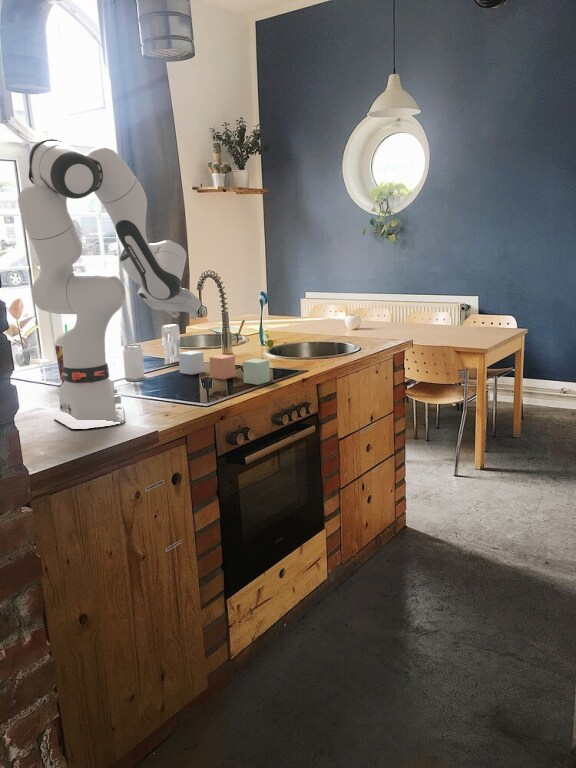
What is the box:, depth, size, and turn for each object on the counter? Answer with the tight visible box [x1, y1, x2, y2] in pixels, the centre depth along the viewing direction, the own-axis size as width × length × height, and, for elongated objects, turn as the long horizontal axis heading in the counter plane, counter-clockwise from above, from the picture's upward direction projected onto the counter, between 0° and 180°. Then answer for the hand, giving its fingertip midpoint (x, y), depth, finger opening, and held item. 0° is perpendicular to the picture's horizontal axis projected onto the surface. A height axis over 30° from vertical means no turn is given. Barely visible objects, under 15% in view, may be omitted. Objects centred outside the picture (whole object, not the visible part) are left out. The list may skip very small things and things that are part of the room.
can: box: [122, 344, 145, 383], centre depth 227 cm, size 6×6×12 cm
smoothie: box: [54, 323, 68, 384], centre depth 224 cm, size 8×8×20 cm
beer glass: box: [161, 323, 181, 365], centre depth 255 cm, size 7×7×15 cm
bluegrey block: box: [178, 350, 205, 376], centre depth 232 cm, size 6×6×7 cm
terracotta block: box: [209, 354, 236, 380], centre depth 223 cm, size 6×6×7 cm
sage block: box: [242, 358, 271, 385], centre depth 214 cm, size 6×6×7 cm
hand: (186, 316), depth 207 cm, fingers open, 7 cm apart
